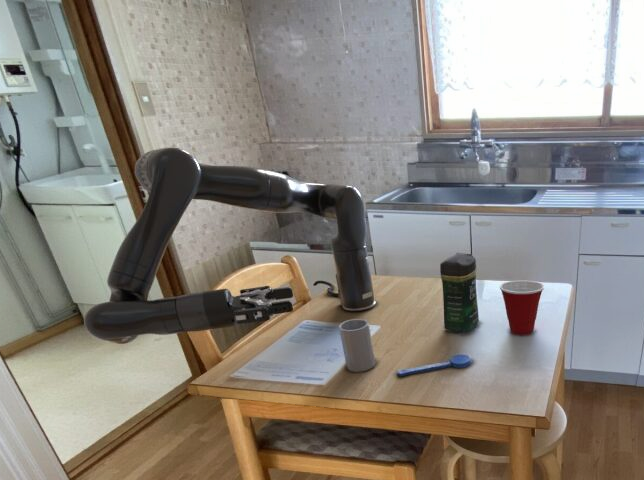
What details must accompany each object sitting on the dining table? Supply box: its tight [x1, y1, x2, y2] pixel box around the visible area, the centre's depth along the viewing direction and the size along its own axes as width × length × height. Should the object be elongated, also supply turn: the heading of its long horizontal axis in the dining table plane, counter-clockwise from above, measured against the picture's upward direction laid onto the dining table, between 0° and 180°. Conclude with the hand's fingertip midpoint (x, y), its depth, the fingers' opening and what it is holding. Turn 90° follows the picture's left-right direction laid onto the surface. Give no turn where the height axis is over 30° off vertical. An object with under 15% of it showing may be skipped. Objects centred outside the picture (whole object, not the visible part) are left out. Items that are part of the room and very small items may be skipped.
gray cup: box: [338, 318, 376, 373], centre depth 115 cm, size 6×6×10 cm
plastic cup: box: [499, 279, 545, 336], centre depth 127 cm, size 11×11×12 cm
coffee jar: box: [439, 252, 480, 334], centre depth 129 cm, size 10×8×19 cm
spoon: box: [396, 353, 472, 377], centre depth 115 cm, size 17×5×1 cm, turn 108°
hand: (292, 298), depth 106 cm, fingers open, 8 cm apart
